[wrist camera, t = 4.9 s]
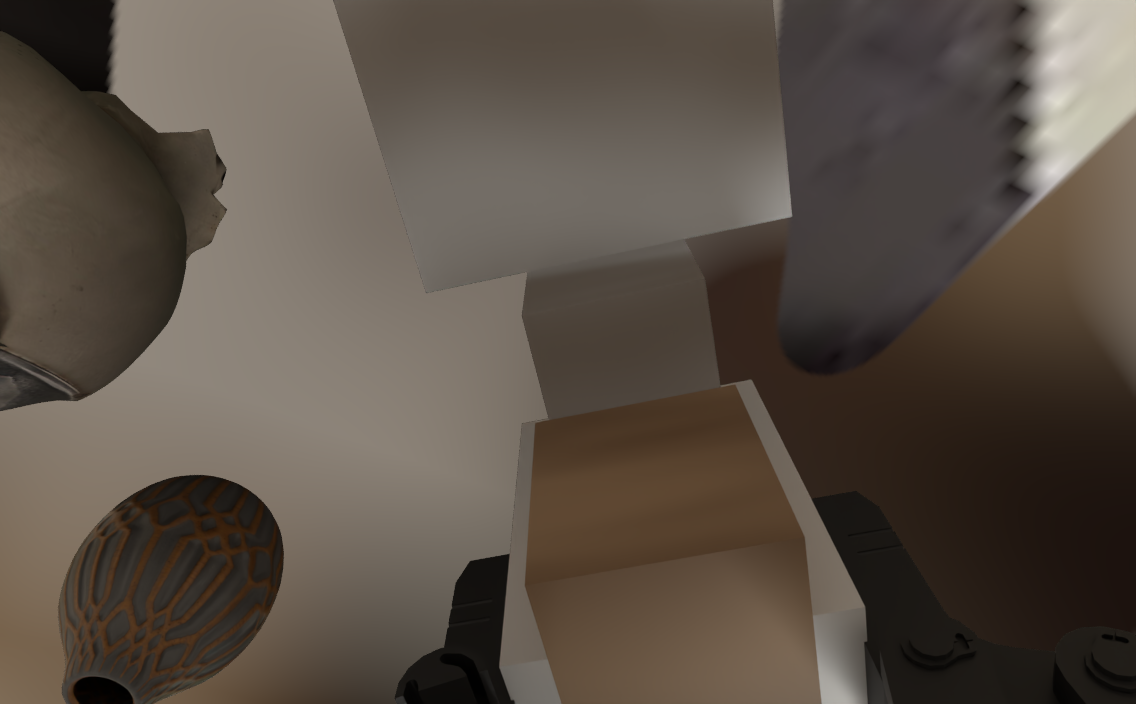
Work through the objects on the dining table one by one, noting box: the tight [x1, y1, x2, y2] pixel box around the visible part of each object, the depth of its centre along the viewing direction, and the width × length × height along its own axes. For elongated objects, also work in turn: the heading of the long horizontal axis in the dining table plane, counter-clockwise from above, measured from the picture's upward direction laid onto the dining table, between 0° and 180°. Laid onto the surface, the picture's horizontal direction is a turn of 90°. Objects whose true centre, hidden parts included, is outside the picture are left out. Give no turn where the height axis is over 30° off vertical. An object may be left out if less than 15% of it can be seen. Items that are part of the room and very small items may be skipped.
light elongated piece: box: [333, 0, 822, 704], centre depth 13 cm, size 19×7×7 cm, turn 12°
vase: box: [58, 475, 284, 704], centre depth 27 cm, size 7×7×9 cm
